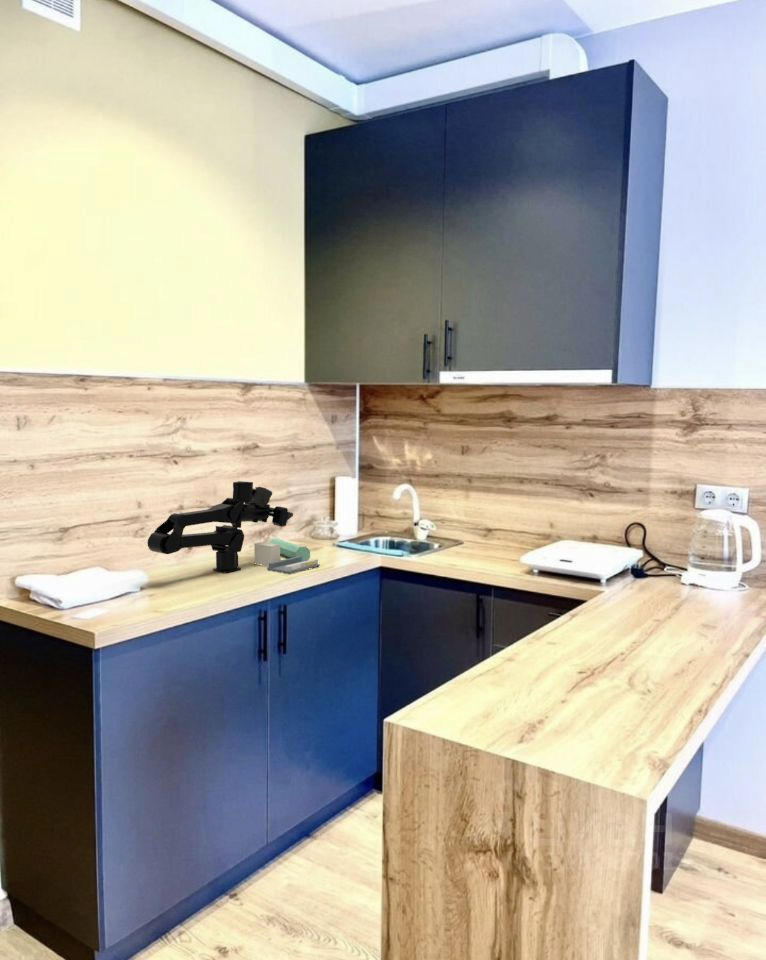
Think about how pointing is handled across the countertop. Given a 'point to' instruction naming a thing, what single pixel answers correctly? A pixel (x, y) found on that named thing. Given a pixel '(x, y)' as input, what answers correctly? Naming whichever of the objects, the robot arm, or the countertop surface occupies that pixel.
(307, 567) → the shallow grey tray
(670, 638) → the countertop surface
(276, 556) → the product box
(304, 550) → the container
